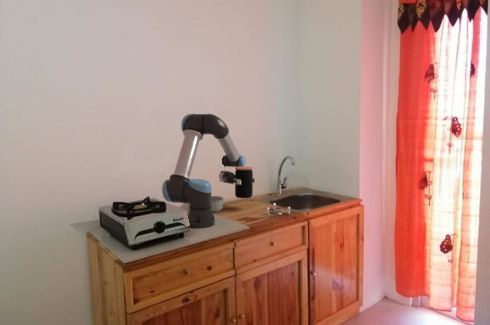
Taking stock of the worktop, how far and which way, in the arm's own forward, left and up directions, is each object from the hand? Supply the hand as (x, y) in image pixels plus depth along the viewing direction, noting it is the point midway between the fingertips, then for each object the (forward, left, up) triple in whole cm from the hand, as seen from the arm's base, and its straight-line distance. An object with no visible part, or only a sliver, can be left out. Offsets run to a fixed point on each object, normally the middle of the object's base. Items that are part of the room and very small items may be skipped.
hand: (248, 181), depth 228 cm
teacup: (-18, +12, -18) cm, 28 cm away
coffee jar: (0, +4, -10) cm, 11 cm away
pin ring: (+8, -15, -18) cm, 25 cm away
